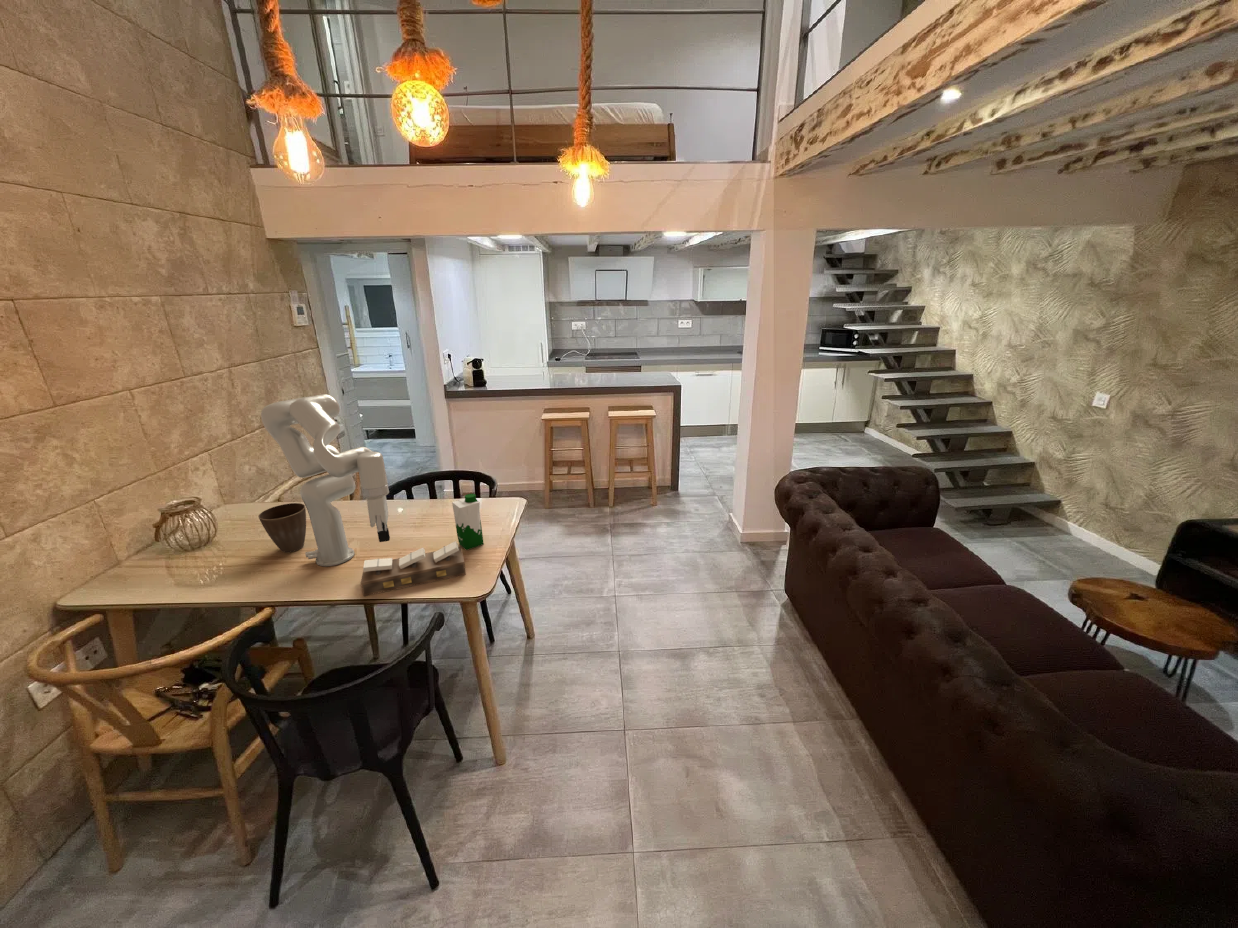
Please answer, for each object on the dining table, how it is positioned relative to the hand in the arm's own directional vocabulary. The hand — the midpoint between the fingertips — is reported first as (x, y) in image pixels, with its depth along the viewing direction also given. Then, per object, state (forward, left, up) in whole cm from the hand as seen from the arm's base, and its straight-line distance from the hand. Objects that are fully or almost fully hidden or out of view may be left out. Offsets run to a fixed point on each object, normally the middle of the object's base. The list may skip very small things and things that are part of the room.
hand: (384, 540), depth 161 cm
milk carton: (+28, +14, -15) cm, 34 cm away
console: (+8, -2, -15) cm, 17 cm away
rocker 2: (+8, -2, -8) cm, 12 cm away
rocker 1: (-3, -2, -8) cm, 9 cm away
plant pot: (-37, +40, -15) cm, 57 cm away
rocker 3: (+19, -2, -8) cm, 21 cm away
